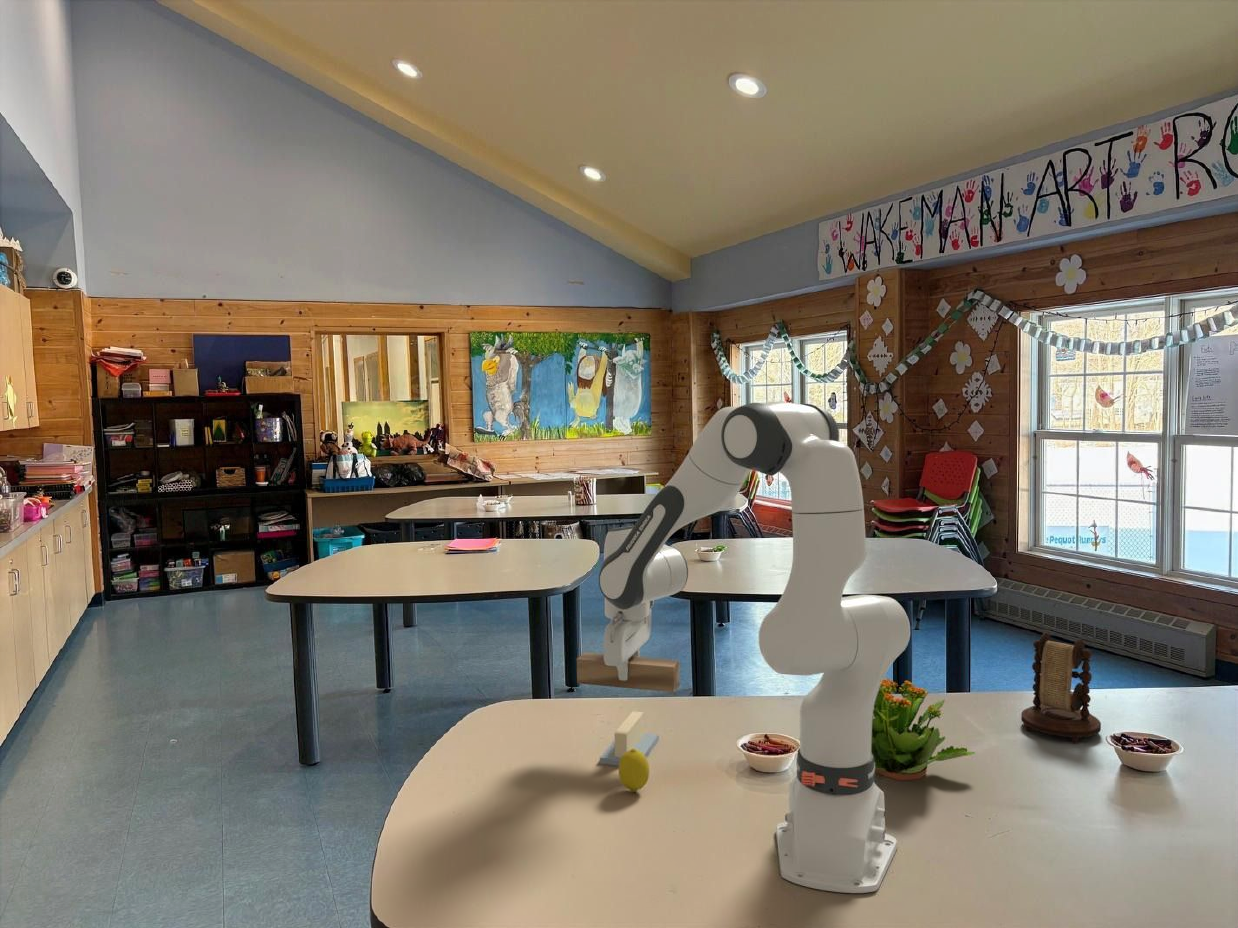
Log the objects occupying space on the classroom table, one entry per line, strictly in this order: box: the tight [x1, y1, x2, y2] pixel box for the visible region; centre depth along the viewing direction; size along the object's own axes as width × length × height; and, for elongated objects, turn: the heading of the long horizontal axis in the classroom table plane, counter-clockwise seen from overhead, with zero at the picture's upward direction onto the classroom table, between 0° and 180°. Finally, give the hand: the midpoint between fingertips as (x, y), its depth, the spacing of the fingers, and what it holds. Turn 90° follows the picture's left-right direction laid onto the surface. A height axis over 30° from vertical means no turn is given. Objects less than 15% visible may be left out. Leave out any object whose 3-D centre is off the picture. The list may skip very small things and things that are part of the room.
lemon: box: [618, 749, 650, 793], centre depth 162 cm, size 6×6×8 cm
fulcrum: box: [599, 711, 660, 767], centre depth 180 cm, size 14×8×6 cm, turn 162°
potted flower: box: [871, 677, 976, 781], centre depth 167 cm, size 25×24×18 cm
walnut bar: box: [576, 652, 681, 693], centre depth 179 cm, size 4×20×5 cm, turn 72°
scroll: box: [1020, 632, 1102, 744], centre depth 185 cm, size 15×15×20 cm
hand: (628, 674), depth 179 cm, fingers closed on walnut bar, 4 cm apart
